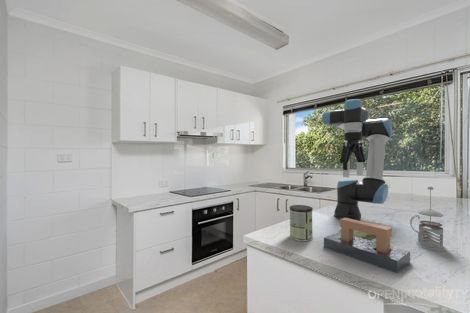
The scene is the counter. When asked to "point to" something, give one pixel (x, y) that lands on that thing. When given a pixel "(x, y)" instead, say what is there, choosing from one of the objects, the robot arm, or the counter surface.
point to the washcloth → (363, 235)
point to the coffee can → (301, 222)
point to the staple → (373, 229)
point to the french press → (426, 240)
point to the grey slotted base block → (368, 252)
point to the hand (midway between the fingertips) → (353, 176)
